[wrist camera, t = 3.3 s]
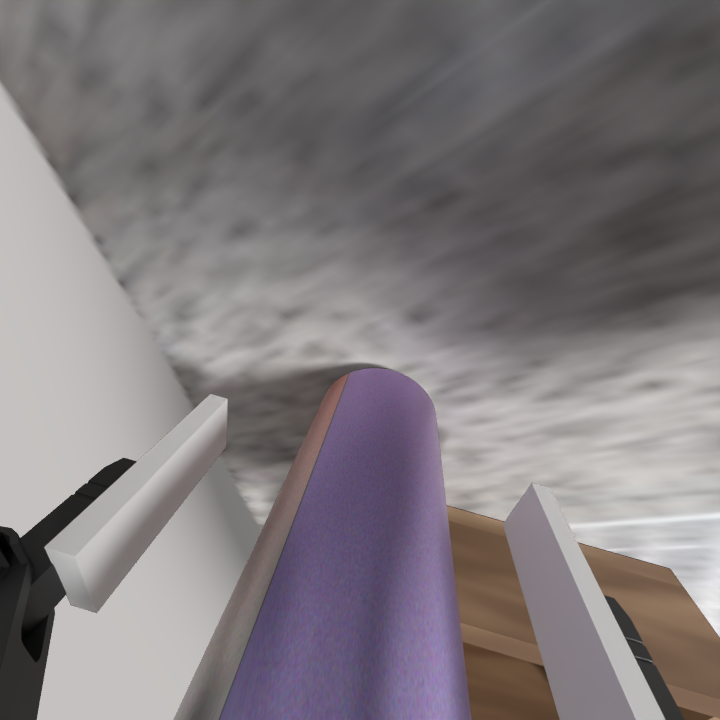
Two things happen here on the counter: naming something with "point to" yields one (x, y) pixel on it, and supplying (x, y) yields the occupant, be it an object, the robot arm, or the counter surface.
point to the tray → (518, 642)
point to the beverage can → (347, 577)
